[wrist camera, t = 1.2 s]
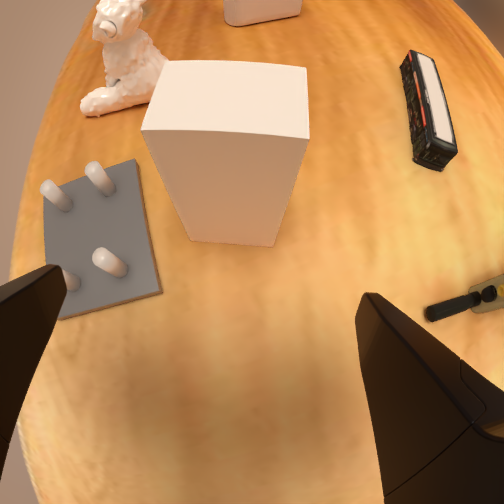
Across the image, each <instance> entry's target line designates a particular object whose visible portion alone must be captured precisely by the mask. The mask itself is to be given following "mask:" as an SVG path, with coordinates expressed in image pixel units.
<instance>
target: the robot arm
mask: <svg viewBox="0 0 504 504" xmlns="http://www.w3.org/2000/svg"><path fill="white" fill-rule="evenodd" d="M66 294H67V286H66V282H65V278H64V275H63V271H62V268H61V267H60V266H59V265H54V264H48V265H45V266H43V267H41V268H39V269H36V270H34V271H32V272H30V273H28V274H25V275H23V276H21V277H19V278H17V279H15V280H12V281H10V282H8V283H6V284H4V285H2V286H0V480H1V476H2V471H3V467H4V463H5V460H6V456H7V452H8V449H9V443H10V441H11V437H12V434H13V431H14V428H15V425H16V422H17V419H18V416H19V413H20V410H21V407H22V404H23V402H24V399H25V396H26V394H27V391H28V388H29V386H30V383H31V381H32V378H33V376H34V373H35V371H36V368H37V366H38V364H39V361H40V359H41V357H42V354H43V352H44V350H45V348H46V345H47V343H48V341H49V339H50V336H51V334H52V332H53V329H54V326H55V324H56V321H57V318H58V315H59V313H60V310H61V308H62V305H63V302H64V300H65V297H66ZM355 326H356V334H357V342H358V351H359V360H360V367H361V372H362V377H363V382H364V386H365V391H366V396H367V401H368V405H369V410H370V416H371V421H372V426H373V431H374V437H375V443H376V449H377V455H378V461H379V467H380V474H381V481H382V488H383V495H384V497H385V498H384V504H504V391H502V390H501V389H500V388H498V387H497V386H495V385H494V384H493V383H491V382H490V381H489V380H487V379H486V378H485V377H483V376H482V375H481V374H479V373H478V372H477V371H476V370H474V369H473V368H472V367H471V366H470V365H468V364H467V363H466V362H465V361H464V360H462V359H461V360H460V357H459V356H457V355H456V354H455V353H454V352H452V351H451V350H450V349H449V348H447V347H446V346H445V345H444V344H443V343H441V342H440V341H439V340H438V339H436V338H435V337H434V336H433V335H431V334H430V333H429V332H427V331H426V330H425V329H424V328H422V327H421V326H420V325H419V324H417V323H416V322H415V321H413V320H412V319H411V318H410V317H408V316H407V315H406V314H404V313H403V312H402V311H401V310H399V309H398V308H397V307H395V306H394V305H393V304H391V303H390V302H389V301H388V300H386V299H385V298H384V297H382V296H381V295H380V294H378V293H369V292H366V293H364V294H363V296H362V298H361V301H360V304H359V307H358V310H357V313H356V316H355Z"/></svg>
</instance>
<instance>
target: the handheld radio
mask: <svg viewBox="0 0 504 504" xmlns="http://www.w3.org/2000/svg"><path fill="white" fill-rule="evenodd" d="M468 292H469V294H468V295H465V296H464V295H463V296H460V297H457V298H454V299H450V300H447V301H444V302H441V303H438V304H435V305H431V306H429V307H428V308H427V311H426V314H427V318H428V320H429V321H430V322H434V321H437V320H440V319H443V318H446V317H449V316H452V315H454V314H457V313H460V312H463V311H465V310H467V309H468V308H471V310H472V311H473V312H474V313H485V312H489V311H493V310H497V309H500V308H504V274H502V275H500V276H497V277H495V278H493V279H490V280H488V281H485V282H483V283H480V284H478V285H475V286H473V287H471V288H470V289H469V291H468Z"/></svg>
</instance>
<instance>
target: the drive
mask: <svg viewBox="0 0 504 504" xmlns="http://www.w3.org/2000/svg"><path fill="white" fill-rule="evenodd" d="M141 133H142V135H143V137H144V140H145V142H146V144H147V147H148V149H149V151H150V154H151V156H152V158H153V160H154V163H155V165H156V167H157V170H158V172H159V174H160V176H161V179H162V181H163V183H164V185H165V187H166V190H167V192H168V194H169V196H170V198H171V201H172V203H173V205H174V207H175V209H176V211H177V213H178V216H179V218H180V220H181V222H182V224H183V226H184V228H185V230H186V233H187V235H188V237H189V239H190V241H199V242H212V243H225V244H238V245H250V246H262V247H273V245H274V243H275V240H276V237H277V234H278V231H279V228H280V225H281V222H282V219H283V216H284V213H285V211H286V208H287V205H288V202H289V199H290V196H291V193H292V190H293V187H294V184H295V181H296V178H297V175H298V172H299V169H300V166H301V163H302V160H303V157H304V154H305V151H306V148H307V145H308V142H309V113H308V91H307V73H306V68H305V67H297V66H289V65H280V64H270V63H258V62H243V61H217V60H187V61H166V62H165V64H164V67H163V69H162V72H161V74H160V77H159V79H158V82H157V84H156V87H155V90H154V92H153V95H152V98H151V101H150V103H149V106H148V109H147V112H146V115H145V118H144V121H143V124H142V127H141Z"/></svg>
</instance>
